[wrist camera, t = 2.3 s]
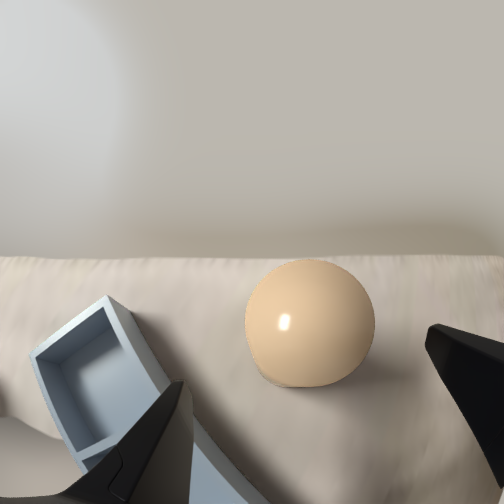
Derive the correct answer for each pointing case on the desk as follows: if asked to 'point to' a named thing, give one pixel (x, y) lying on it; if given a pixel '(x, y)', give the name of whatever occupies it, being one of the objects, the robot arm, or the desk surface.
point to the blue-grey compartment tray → (120, 397)
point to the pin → (309, 324)
